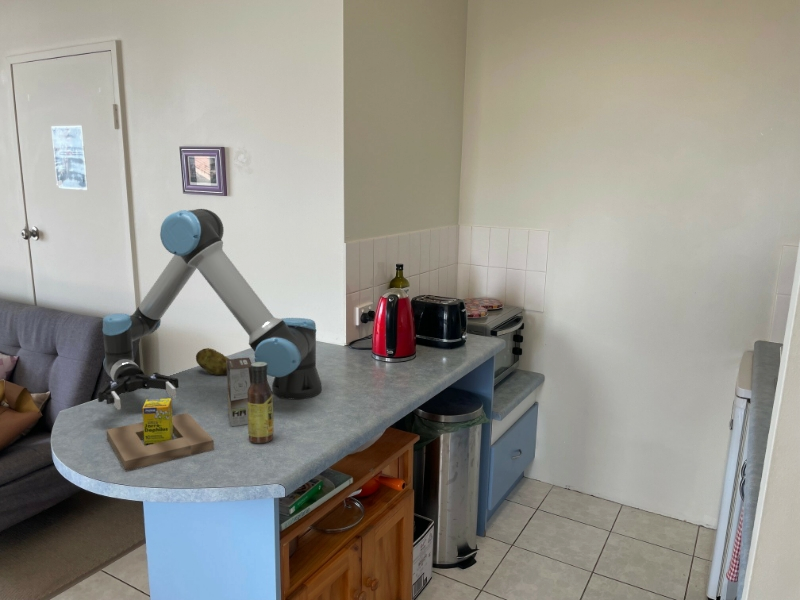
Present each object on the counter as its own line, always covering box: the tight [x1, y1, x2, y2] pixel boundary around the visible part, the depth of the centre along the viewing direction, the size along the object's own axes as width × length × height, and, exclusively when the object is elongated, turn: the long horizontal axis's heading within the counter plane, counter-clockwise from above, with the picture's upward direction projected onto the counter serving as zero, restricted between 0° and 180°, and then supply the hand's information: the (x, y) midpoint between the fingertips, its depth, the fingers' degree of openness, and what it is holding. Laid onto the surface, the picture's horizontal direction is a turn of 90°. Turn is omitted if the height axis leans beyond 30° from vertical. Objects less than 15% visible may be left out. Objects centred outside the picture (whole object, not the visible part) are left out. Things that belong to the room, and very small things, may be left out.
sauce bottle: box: [247, 361, 274, 444], centre depth 150 cm, size 7×6×20 cm
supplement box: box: [142, 397, 174, 446], centre depth 146 cm, size 6×6×11 cm
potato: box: [195, 347, 230, 376], centre depth 199 cm, size 8×13×8 cm, turn 57°
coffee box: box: [226, 357, 253, 427], centre depth 162 cm, size 9×6×16 cm
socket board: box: [106, 412, 215, 472], centre depth 147 cm, size 20×20×2 cm
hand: (147, 398), depth 153 cm, fingers open, 13 cm apart
